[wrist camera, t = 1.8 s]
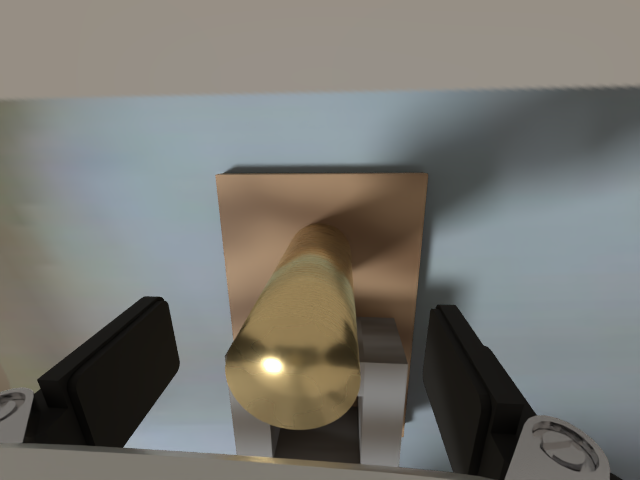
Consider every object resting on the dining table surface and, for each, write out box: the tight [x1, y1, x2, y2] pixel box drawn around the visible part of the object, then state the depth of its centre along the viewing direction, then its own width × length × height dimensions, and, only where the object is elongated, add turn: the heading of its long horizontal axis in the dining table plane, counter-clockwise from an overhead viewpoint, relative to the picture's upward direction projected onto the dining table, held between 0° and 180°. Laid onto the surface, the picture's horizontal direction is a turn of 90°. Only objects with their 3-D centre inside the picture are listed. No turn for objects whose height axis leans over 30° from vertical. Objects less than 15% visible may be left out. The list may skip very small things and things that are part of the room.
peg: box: [225, 223, 361, 430], centre depth 15 cm, size 4×4×12 cm
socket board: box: [216, 173, 428, 467], centre depth 21 cm, size 22×14×6 cm, turn 1°
